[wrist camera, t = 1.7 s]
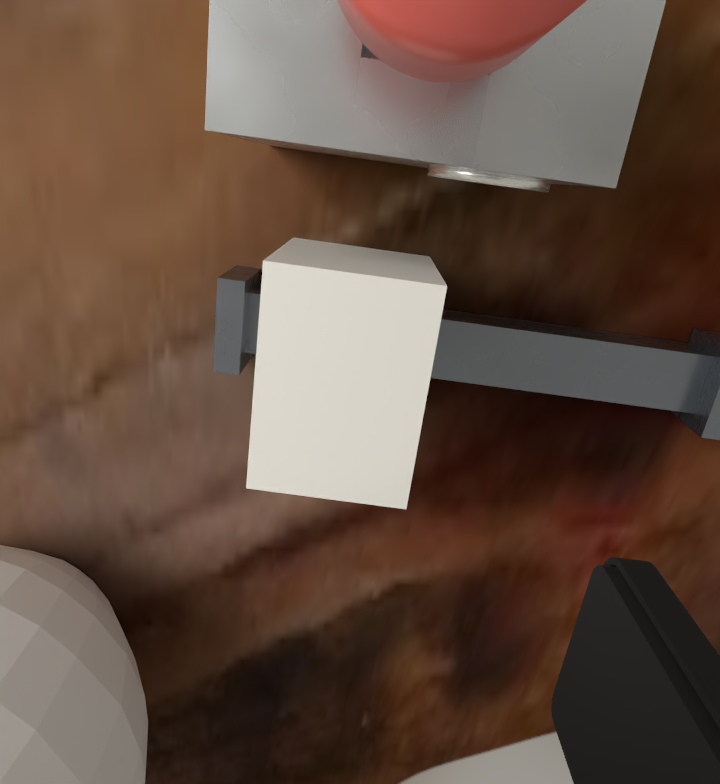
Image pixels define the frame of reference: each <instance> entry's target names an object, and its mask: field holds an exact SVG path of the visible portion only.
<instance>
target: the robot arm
mask: <svg viewBox="0 0 720 784" xmlns="http://www.w3.org/2000/svg"><path fill="white" fill-rule="evenodd" d="M552 717H553V722H554V725H555V728H556V731H557V734H558V737H559V740H560V743H561V746H562V749H563V752H564V755H565V758H566V761H567V764H568V767H569V770H570V773H571V776H572V779H573V782H574V784H720V656H719V655H718V653H717V652H716V650H715V649H714V648H713V646H712V645H711V644H710V642H709V641H708V639H707V638H706V637H705V635H704V634H703V632H702V631H701V630H700V628H699V627H698V626H697V624H696V623H695V621H694V620H693V619H692V617H691V616H690V615H689V613H688V612H687V610H686V609H685V608H684V606H683V605H682V603H681V602H680V601H679V599H678V598H677V597H676V595H675V594H674V592H673V591H672V590H671V588H670V587H669V586H668V584H667V583H666V581H665V580H664V579H663V577H662V576H661V574H660V573H659V572H658V570H657V569H656V568H655V566H654V565H653V564H652V563H650V562H647V561H639V560H631V559H623V558H615V557H612V558H609V559H608V560H607V561H606V562H605V564H604V566H602V565H598V566H596V567H595V568H594V570H593V572H592V574H591V578H590V581H589V584H588V587H587V590H586V593H585V596H584V599H583V603H582V606H581V609H580V612H579V615H578V618H577V621H576V625H575V628H574V631H573V634H572V637H571V640H570V643H569V646H568V650H567V653H566V656H565V659H564V662H563V665H562V668H561V671H560V675H559V678H558V681H557V684H556V687H555V690H554V693H553V698H552Z"/></svg>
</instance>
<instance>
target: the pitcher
mask: <svg viewBox="0 0 720 784" xmlns="http://www.w3.org/2000/svg"><path fill="white" fill-rule="evenodd" d="M147 737H148V717H147V709H146V701H145V694H144V691H143V687H142V683H141V679H140V675H139V672H138V668H137V664H136V660H135V657H134V655H133V653H132V650H131V648H130V646H129V644H128V641H127V639H126V637H125V634H124V632H123V630H122V628H121V626H120V623H119V621H118V619H117V617H116V615H115V613H114V611H113V609H112V607H111V605H110V602H109V600H108V599H107V598H106V597H105V595H104V594H103V593H102V591H101V590H100V589H99V588H98V586H97V585H96V584H95V583H94V581H92V580H91V579H90V578H89V577H88V576H86V575H85V574H84V573H83V572H82V571H80V570H79V569H77V568H76V567H74V566H72V565H71V564H69V563H67V562H66V561H64V560H61V559H58V558H55V557H51V556H48V555H45V554H41V553H38V552H35V551H31V550H25V549H20V548H14V547H9V546H3V545H0V784H145V775H146V756H147Z"/></svg>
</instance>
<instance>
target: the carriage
mask: <svg viewBox="0 0 720 784" xmlns="http://www.w3.org/2000/svg"><path fill="white" fill-rule="evenodd" d="M446 291H447V285H446V283H445V281H444V280H443V278H442V276H441V275H440V273H439V271H438V270H437V268H436V266H435V265H434V263H433V261H432V259H431V258H430V256H423V255H416V254H408V253H401V252H394V251H387V250H380V249H372V248H365V247H358V246H351V245H344V244H336V243H329V242H322V241H315V240H308V239H300V238H292V239H291V240H289V241H288V242H287V243H286V244H284V245H283V246H282V247H280V248H279V249H278V250H276V251H275V252H274V253H272V254H271V255H270V256H268V257H267V258H266V259H265V260H263V269H262V282H261V296H260V309H259V322H258V336H257V349H256V363H255V376H254V390H253V403H252V417H251V430H250V444H249V457H248V471H247V484H246V488H248V489H255V490H263V491H271V492H278V493H286V494H294V495H301V496H309V497H316V498H324V499H332V500H339V501H347V502H354V503H362V504H370V505H377V506H385V507H392V508H400V509H406V508H407V503H408V497H409V492H410V486H411V481H412V476H413V470H414V465H415V459H416V454H417V448H418V443H419V438H420V432H421V427H422V421H423V416H424V410H425V405H426V399H427V394H428V389H429V383H430V378H431V372H432V367H433V361H434V356H435V350H436V345H437V340H438V334H439V329H440V323H441V318H442V312H443V307H444V302H445V296H446Z"/></svg>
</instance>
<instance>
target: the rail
mask: <svg viewBox="0 0 720 784" xmlns="http://www.w3.org/2000/svg"><path fill="white" fill-rule="evenodd" d="M260 272H261V269H257V268H250V267H242V266H235V267H234V268H232V269H231V270H229V271H227V272H226V273H224V274H223V275H221V276H220V277H218V280H217V301H216V322H215V343H214V363H213V372H219V373H226V374H233V375H240V373H241V372H242V370H243V369H244V367H245V366H246V365H247V363H248V362H249V360H250V359H251V357H252V356H253V354H256V349H257V336H258V322H259V309H260V296H261V284H260ZM431 378H435V379H442V380H450V381H457V382H464V383H472V384H479V385H487V386H494V387H501V388H509V389H516V390H523V391H531V392H538V393H546V394H553V395H560V396H568V397H575V398H583V399H590V400H597V401H605V402H612V403H619V404H627V405H634V406H642V407H649V408H656V409H664V410H668V411H670V412H671V413H672V414H673V415H675V416H676V417H677V418H678V419H679V420H681V421H682V422H683V423H684V424H685V425H687V426H688V427H689V428H690V429H691V430H693V431H694V432H695V433H696V434H698V435H699V436H700V437H701V438H708V439H716V440H720V333H718V332H714V331H706V330H699V329H693V331H692V334H691V337H690V340H689V343H688V342H681V341H673V340H666V339H659V338H652V337H644V336H637V335H630V334H622V333H615V332H608V331H601V330H593V329H586V328H579V327H572V326H564V325H557V324H550V323H542V322H535V321H528V320H521V319H513V318H506V317H499V316H492V315H484V314H477V313H470V312H462V311H455V310H448V309H443V312H442V318H441V323H440V329H439V334H438V340H437V345H436V350H435V356H434V361H433V367H432V372H431Z"/></svg>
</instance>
